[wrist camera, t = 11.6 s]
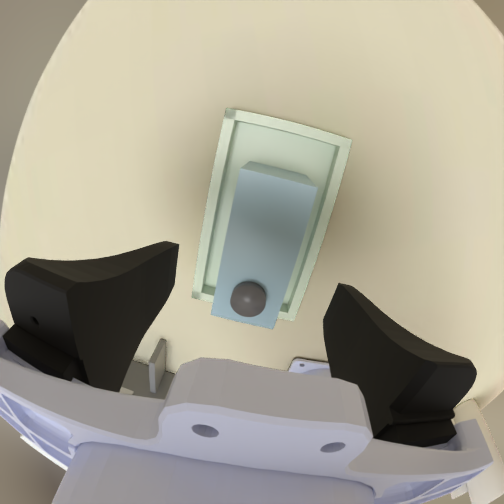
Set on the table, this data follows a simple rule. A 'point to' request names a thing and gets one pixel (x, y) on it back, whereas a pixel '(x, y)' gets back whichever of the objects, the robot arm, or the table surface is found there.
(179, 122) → the table surface
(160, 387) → the bay
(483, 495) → the vase
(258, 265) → the tall blue-grey prism
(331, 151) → the tray
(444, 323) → the table surface
